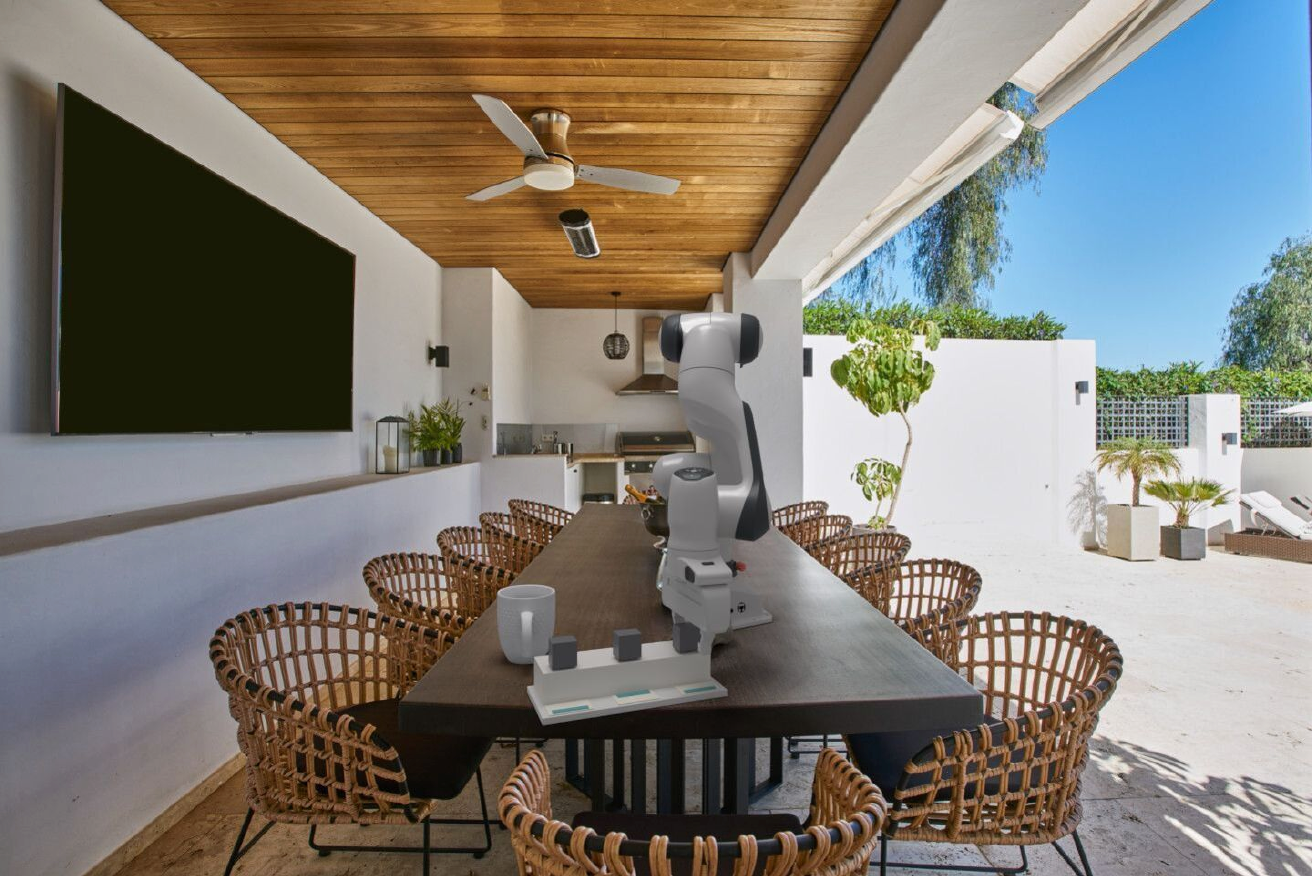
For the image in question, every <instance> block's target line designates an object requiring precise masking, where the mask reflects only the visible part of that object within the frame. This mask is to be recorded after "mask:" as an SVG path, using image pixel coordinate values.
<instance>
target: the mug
mask: <svg viewBox="0 0 1312 876" xmlns="http://www.w3.org/2000/svg"><path fill="white" fill-rule="evenodd" d="M496 599H497V601H496V621H497V622H496V623H497V631H498V638H499V642H500V646H501V649H502V651H503V653H504V656H505V657H506V658H507V661H509V662H510V663H512V664H516V665H530V664H534V657H538V656H546V655H547V653H548V649H549V638H553V636H554V631H555V630H554V629H555V620H556V590H555V589H554V588H553V587H550V586H548V585H544V584H543V585H541V584H519V585H517V584H516V585H511V586H507V587H504V588H501V589H499V590H498V591H497V595H496Z"/></svg>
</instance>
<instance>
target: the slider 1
mask: <svg viewBox="0 0 1312 876" xmlns="http://www.w3.org/2000/svg"><path fill="white" fill-rule="evenodd" d="M577 652H578V640H577V638H576V637H575V636H574V635H573V634H571V635H564V636H555V637H552V638H549V649H548V651H547V653H548V654H547V655H548V663H549V664H550V666H551V668H552V669H556V668H564V667H572V666H577Z"/></svg>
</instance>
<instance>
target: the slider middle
mask: <svg viewBox="0 0 1312 876" xmlns="http://www.w3.org/2000/svg"><path fill="white" fill-rule="evenodd" d="M612 633H613V635H612V637H613V638H612V644H613V645H612V648H613V655H614V656H615V657H616V658H617V659H618V660H626V659H634V658H642V644H643V643H642V642H643V641H642V640H643V638H642V637H643V633H642V632H641V631H639V630H638V629H637V628H635V627H634V628H629V629H618V630H613V632H612Z"/></svg>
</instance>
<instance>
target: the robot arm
mask: <svg viewBox="0 0 1312 876" xmlns="http://www.w3.org/2000/svg"><path fill="white" fill-rule="evenodd" d="M659 328H660V329H659V331H658V335H657V338H658V339H657V340H658V347H659V349H660V352H661V356H662V357H663V358H664V359H665V360H666V361H668V362H671V363H674V364H679V368H678V377H677V395H678V396H677V397H678V403H679V405H680V407H681V408H682V410H683V411H684V413H685V418H684V419H685V420H684V421H685V425H686V428H687V430H688V431H690V433H692V434H693V435H694V436H696V437H697V438H700V439H703V440H704V441H706V442H708V443H709V444H710V447H711V451H709V452H676V453H670V454H667V455H661V456H660V457H659V458H658V460H657V461H656V462H655V464H654V466H653V469H652V473H651V477H652V479H651V480H652V484H653V487H654V489H655V491H656V492H657V493H658V494H659V496H660V497H662V498H663V499H664V500H665V524H666V525H667V527H669V537H668V541H667V545H666V546H667V547H666V550H667V551H666V552H667V553H666V554H667V556H666V558H667V559H666V565H665V566H664V569H663V572H662V583H661V585H662V586H661V600H662V604H663V605H664V606H665V607H667V608H669V609H670V610H671V616H672V620H673V624H675V623H684V622H685V621H686V620H688V621H689V622H691V623H692V624H694V625H695V626H697V627H698V628H700V634H701V635H702V636H701V640H700V642H698V652H699V653H700V654H702V655H710V656H711V654H712V650H711V644H712V642H713V639H714V637H715V634H718V633H724V632H726V631H727V629H728V627H729V624H730V618H731V622H732V627H733V631H734V630H737V629H738V630H739V629H743V628H748V627H753V626H758V625H762V624H763V625H764V624H767V623H772V622H773V615H772V614H771V613H770V612H769V611H768V610H766V609H764V608H763V602H762V597H761V595H760V593H759V591H758V590H757V589H756V588H755V587H753V586H752V585H751V584H749V583H748V582H747V581H746V580H744V579H743V578H742V577H741V576H740V575H738V574H739V573H738V571H739V572H742V573H743V572H745V571H746V569H747V565H746V564H745V562H742V561H735V560H733V559H732V557H731V556H732V539H735V540H739V541H747V542H751V543H754V542H757V541H758V540H759V539H760V538H762V537H763V536H765V534H767V533H768V532H769V531H770V530H771V525H772V522H773V521H772V520H773V508H772V504H771V500H770V496H769V493H768V491H767V487H766V485H765V479H764V477H765V476H764V470H763V464H762V458H761V452H760V446H759V438H758V433H757V429H756V425H755V419H754V414H753V411H752V408H751V406H750V404H749V403H748V402H746V401H745V400H742V399H741V397H740V395H739V394H738V392H737V389H736V364H739V369H741V368H743V367H744V365H747V364H750V363H752V362H754V361H755V360H756V359H757V358H758V357H759V354H760V352H761V350H762V349H763V344H764V332H763V328H762V326H761V323H760V320H759V319H758V317H757V316H755V315H752V314H748V313H745V312H742V313H741V314H740V313H733V312H723V311H711V312H694V313H693V312H692V313H685V314H684V313H683V314H682V312H681V313H674V314H670V315H667V316H666V317H665V318H664V319H663V320H662V323H661V326H660V327H659Z"/></svg>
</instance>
